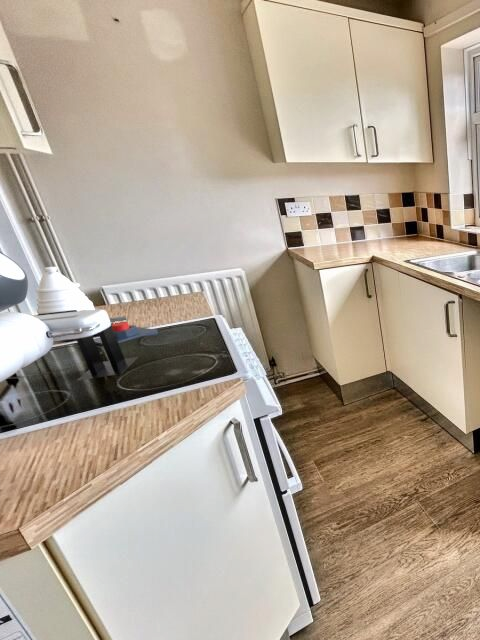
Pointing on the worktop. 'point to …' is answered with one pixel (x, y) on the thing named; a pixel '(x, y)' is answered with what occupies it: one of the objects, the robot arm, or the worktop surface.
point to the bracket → (94, 358)
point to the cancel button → (120, 326)
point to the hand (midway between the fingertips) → (56, 317)
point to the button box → (130, 334)
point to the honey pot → (60, 294)
